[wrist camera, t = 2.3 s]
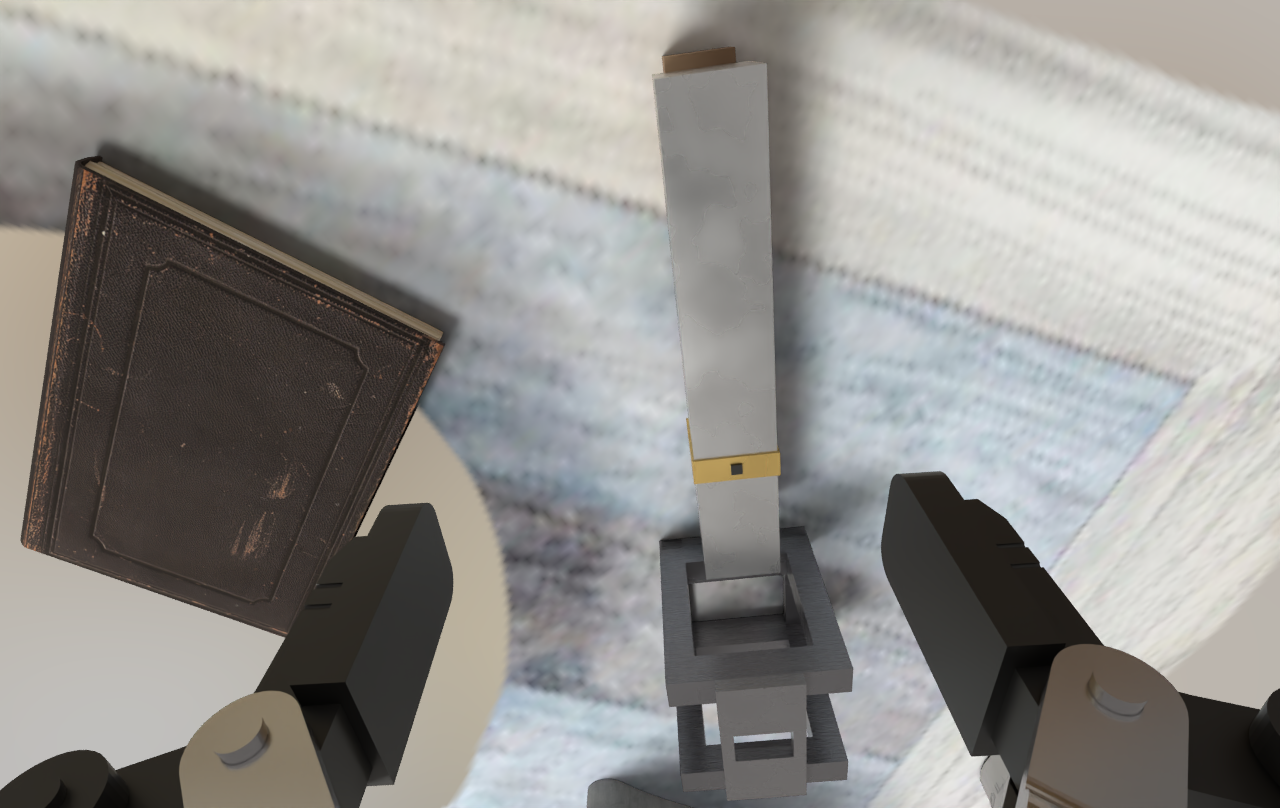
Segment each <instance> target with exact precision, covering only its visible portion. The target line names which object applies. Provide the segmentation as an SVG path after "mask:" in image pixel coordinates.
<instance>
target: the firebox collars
mask: <svg viewBox="0 0 1280 808" xmlns="http://www.w3.org/2000/svg"><path fill="white" fill-rule="evenodd" d="M779 535H780V573H771V574H760V575H750V576H739V577H729V578H719V579H708V580H706V572H705V564H704V556H703V549H702V541H701V537H694V538H684V539H674V540H664V541H659V544H660V567H661V590H662V613H663V635H664V658H665V681H666V690H667V696H668V702H669V707H675V706H677V723H678V740H679V757H680V774H681V780H682V786H683V792H692V791H705V790H718V789H726V794H727V801H732V800H746V799H759V798H772V797H785V796H799V795H806V783H809V782H822V781H836V780H847V772H848V759H847V756H846V752H845V749H844V746H843V742H842V739H841V735H840V732H839V728H838V725H837V722H836V718H835V715H834V711H833V708H832V705H831V701H830V698H829V694H828V693H840V692H852V680H853V667H852V664H851V661H850V658H849V655H848V652H847V649H846V646H845V643H844V641H843V638H842V635H841V632H840V629H839V626H838V623H837V620H836V617H835V614H834V612H833V609H832V606H831V603H830V600H829V597H828V594H827V591H826V588H825V585H824V583H823V580H822V577H821V574H820V571H819V568H818V565H817V562H816V559H815V557H814V554H813V551H812V548H811V545H810V542H809V539H808V536H807V533H806V530H805V528H804V527H794V528H784V529H779ZM774 575H783V612H784V614H777V615H766V616H755V617H744V618H734V619H723V620H712V621H701V622H692V618H691V610H690V599H689V589H688V584H691V583H701V582H712V581H722V580H733V579H743V578H754V577H764V576H774ZM710 703H717V712H718V721H719V730H720V739H721V744H719V745H706V740H705V730H704V719H703V709H702V704H710ZM806 729H807V733H808V737H806ZM782 732H791V739H781V740H768V741H756V742H744V743H734V739H733V736H745V735H758V734H770V733H782Z"/></svg>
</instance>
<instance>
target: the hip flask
mask: <svg viewBox="0 0 1280 808" xmlns="http://www.w3.org/2000/svg"><path fill="white" fill-rule="evenodd" d="M587 808H693V807H690V806H686V805H683V804H679V803H676V802H672V801H669V800H666V799H663V798H660V797H657V796H654V795H652V794H649V793H646V792H644V791H641V790H639V789H636V788H634V787H631V786H629V785H627V784H625V783H623V782H620V781H618V780H614V779H602V780H598V781H596V782H594V783H592V784H591V785H590V786H589V788H588V796H587Z"/></svg>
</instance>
